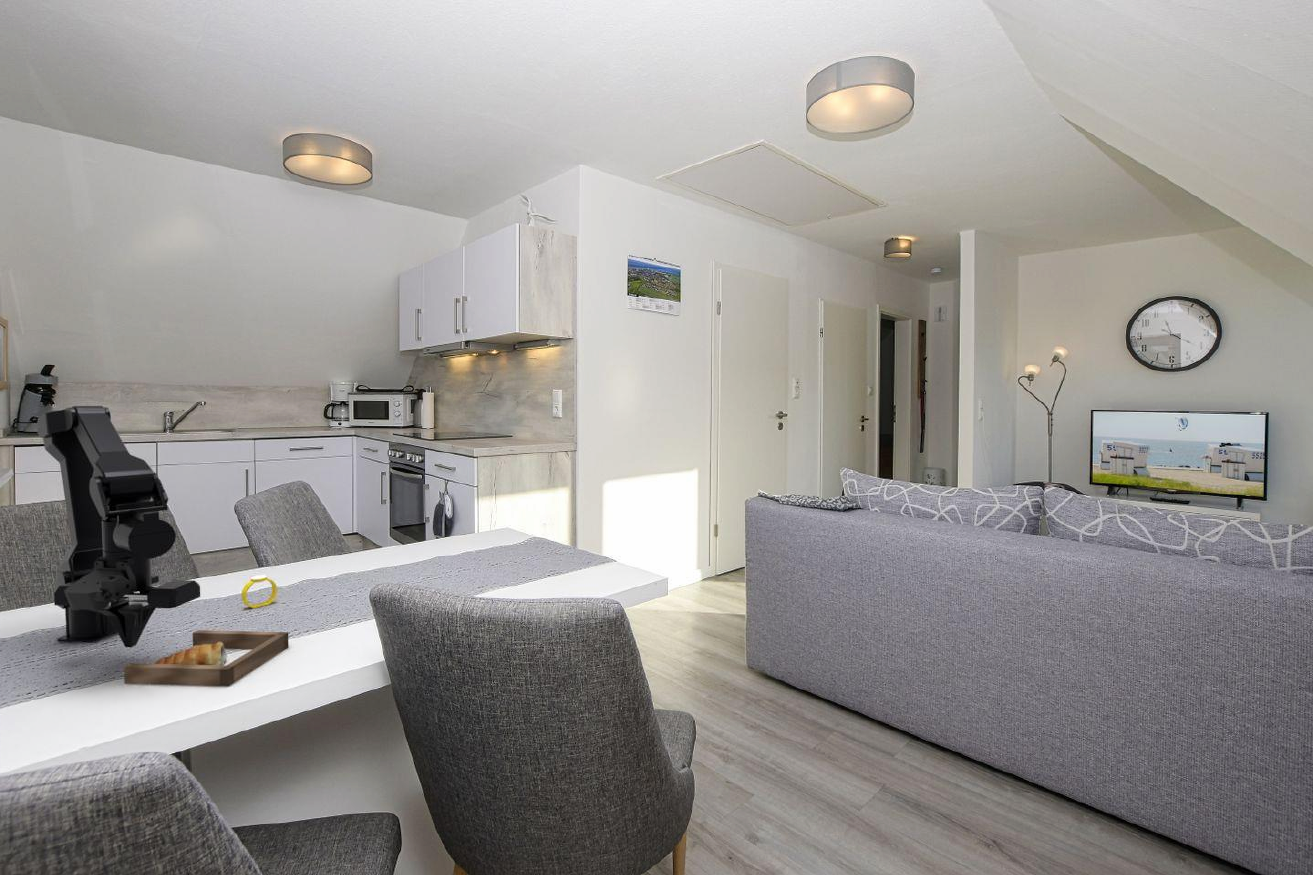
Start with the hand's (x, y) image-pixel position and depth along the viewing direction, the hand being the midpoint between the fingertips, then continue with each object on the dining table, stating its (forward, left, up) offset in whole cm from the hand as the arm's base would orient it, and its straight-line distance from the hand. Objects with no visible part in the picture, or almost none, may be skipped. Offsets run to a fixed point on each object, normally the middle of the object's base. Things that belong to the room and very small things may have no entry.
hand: (130, 646), depth 99 cm
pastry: (+12, -3, -3) cm, 13 cm away
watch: (+3, +26, -3) cm, 27 cm away
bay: (+14, -1, -2) cm, 14 cm away
